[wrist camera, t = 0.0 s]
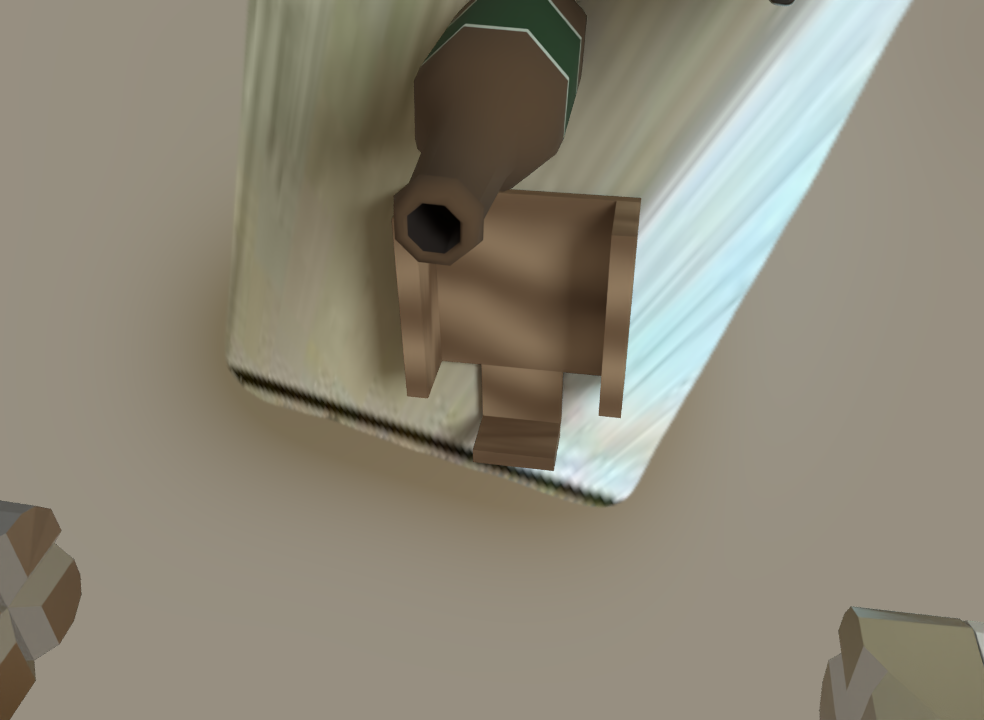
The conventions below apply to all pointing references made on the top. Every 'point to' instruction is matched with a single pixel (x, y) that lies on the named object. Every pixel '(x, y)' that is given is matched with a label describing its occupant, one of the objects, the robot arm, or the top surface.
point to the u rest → (526, 315)
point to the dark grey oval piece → (782, 2)
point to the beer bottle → (486, 117)
